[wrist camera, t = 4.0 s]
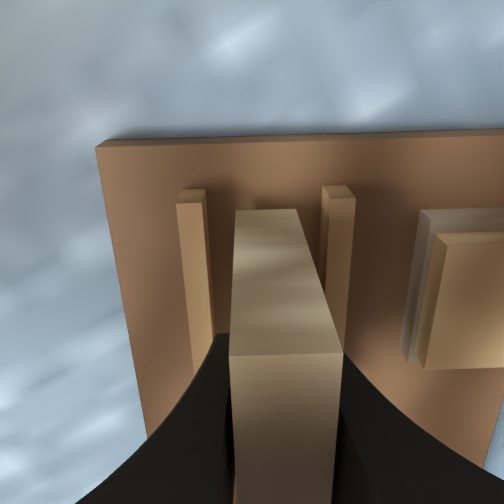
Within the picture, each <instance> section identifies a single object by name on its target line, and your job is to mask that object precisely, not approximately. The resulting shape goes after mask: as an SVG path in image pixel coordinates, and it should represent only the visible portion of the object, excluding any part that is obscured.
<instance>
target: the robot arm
mask: <svg viewBox="0 0 504 504" xmlns="http://www.w3.org/2000/svg"><path fill="white" fill-rule="evenodd" d="M229 342H230V333H217V334H216V335H215V336H214V338H213V341H212V344H211V346H210V348H209V350H208V353H207V355H206V357H205V359H204V360H203V362H202V364H201V366H200V368H199V369H198V371H197V373H196V375H195V376H194V378H193V380H192V381H191V383H190V385H189V386H188V388H187V389H186V390H185V392H184V393H183V395H182V396H181V398H180V399H179V401H178V402H177V404H176V405H175V406H174V408H173V409H172V410H171V412H170V413H169V414H168V416H167V417H166V418H165V419H164V421H163V422H162V423H161V424H160V425H159V427H158V428H157V429H156V430H155V431H154V432H153V433H152V434H151V436H150V437H149V438H148V439H147V440H146V441H145V442H144V443H143V444H142V445H141V446H140V447H139V449H138V450H137V451H136V452H135V453H134V454H133V455H132V456H131V457H129V458H128V459H127V460H126V461H125V462H124V463H123V464H122V465H121V466H120V467H119V468H117V469H116V470H115V471H114V472H113V473H112V474H111V475H110V476H109V477H108V478H107V479H105V480H104V481H103V482H102V483H101V484H100V485H98V486H97V487H96V488H95V489H93V490H92V491H91V492H89V493H88V494H87V495H86V496H84V497H83V498H82V499H80V500H79V501H78V502H76V503H75V504H233V498H234V485H235V475H236V469H235V452H234V435H233V418H232V401H231V385H230V368H229ZM342 350H343V349H342ZM331 504H504V480H502V479H500V478H498V477H496V476H495V475H493V474H491V473H489V472H487V471H485V470H484V469H482V468H480V467H479V466H477V465H476V464H474V463H472V462H471V461H469V460H467V459H466V458H464V457H463V456H461V455H459V454H458V453H456V452H455V451H453V450H452V449H450V448H449V447H447V446H446V445H444V444H443V443H442V442H440V441H439V440H437V439H436V438H435V437H433V436H432V435H430V434H429V433H428V432H426V431H425V430H423V429H422V428H421V427H420V426H418V425H417V424H416V423H414V422H413V421H412V420H411V419H410V418H408V417H407V416H406V415H405V414H404V413H402V412H401V411H400V410H399V409H398V408H397V407H396V406H394V405H393V404H392V403H391V402H390V401H389V400H388V399H387V398H386V397H385V396H384V395H383V394H382V393H381V392H380V391H379V390H378V389H377V388H376V387H375V386H374V385H373V384H372V383H371V382H370V381H369V380H368V379H367V378H366V376H365V375H364V374H363V373H362V372H361V371H360V370H359V369H358V367H357V366H356V365H355V364H354V363H353V362H352V361H351V359H350V358H349V357H348V356H347V354H346V353H345V352H344V351H343V364H342V377H341V389H340V401H339V413H338V425H337V437H336V449H335V461H334V473H333V485H332V497H331Z"/></svg>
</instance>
